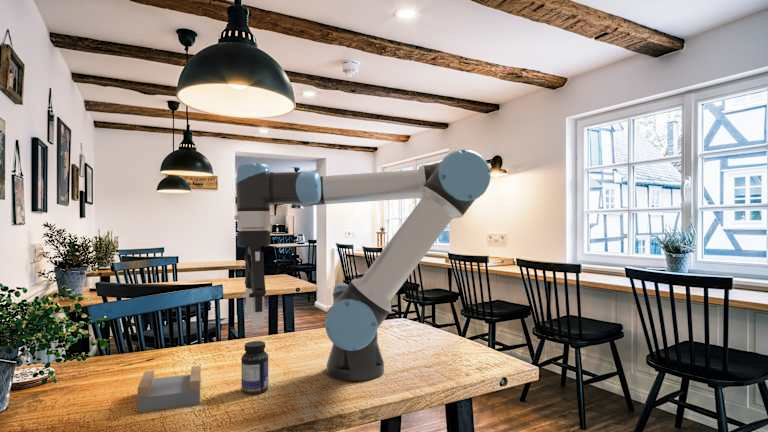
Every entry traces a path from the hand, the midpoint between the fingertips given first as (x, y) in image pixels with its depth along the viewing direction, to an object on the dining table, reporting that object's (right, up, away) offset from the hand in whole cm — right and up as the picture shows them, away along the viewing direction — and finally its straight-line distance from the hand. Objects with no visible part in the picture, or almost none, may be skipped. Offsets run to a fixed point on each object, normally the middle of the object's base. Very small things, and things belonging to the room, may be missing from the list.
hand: (254, 320), depth 106 cm
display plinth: (-18, -17, -4) cm, 24 cm away
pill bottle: (0, -17, 0) cm, 17 cm away
